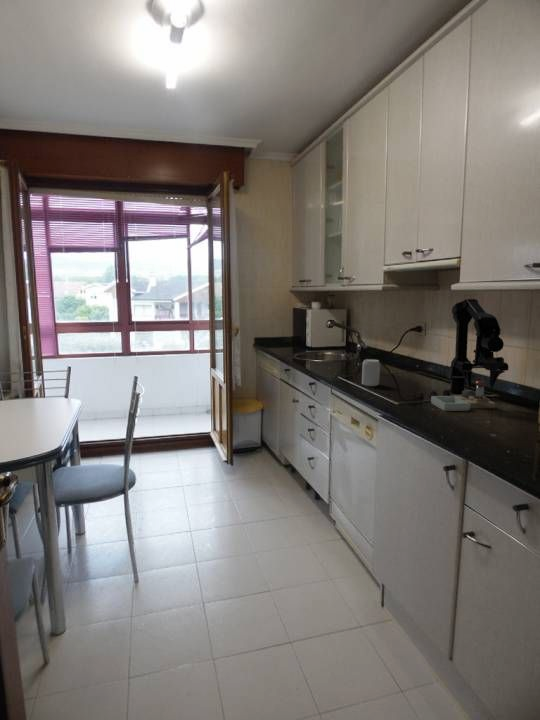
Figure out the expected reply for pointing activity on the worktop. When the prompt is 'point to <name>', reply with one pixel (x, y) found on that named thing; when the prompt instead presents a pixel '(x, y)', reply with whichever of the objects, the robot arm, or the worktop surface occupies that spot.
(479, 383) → the lock pin
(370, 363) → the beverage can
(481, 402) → the block
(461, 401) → the tray
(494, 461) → the worktop surface
